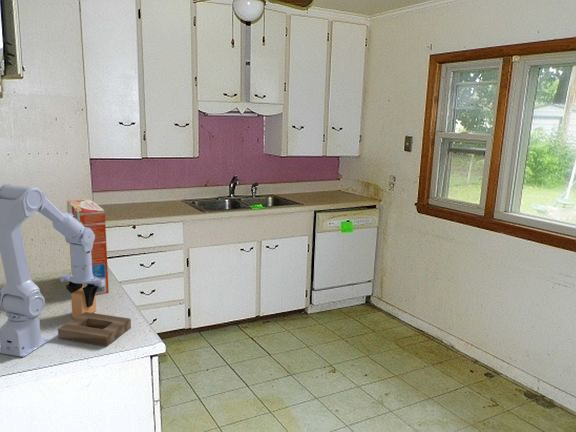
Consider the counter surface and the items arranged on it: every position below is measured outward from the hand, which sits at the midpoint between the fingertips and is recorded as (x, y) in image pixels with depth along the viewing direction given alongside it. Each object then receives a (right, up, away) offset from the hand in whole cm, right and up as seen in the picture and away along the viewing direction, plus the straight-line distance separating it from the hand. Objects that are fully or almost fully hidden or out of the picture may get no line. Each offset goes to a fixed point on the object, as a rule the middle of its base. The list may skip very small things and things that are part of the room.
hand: (84, 305), depth 146 cm
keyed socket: (+8, -6, -11) cm, 15 cm away
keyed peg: (0, -3, +1) cm, 3 cm away
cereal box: (-9, +3, +25) cm, 27 cm away
